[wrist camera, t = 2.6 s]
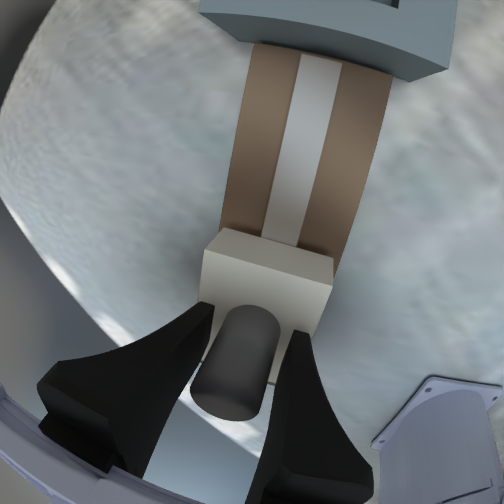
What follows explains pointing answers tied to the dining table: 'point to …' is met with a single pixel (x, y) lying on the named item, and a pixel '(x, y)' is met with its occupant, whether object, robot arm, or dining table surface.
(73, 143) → the dining table surface
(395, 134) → the dining table surface
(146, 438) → the robot arm
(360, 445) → the dining table surface
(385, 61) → the grey button housing
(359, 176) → the rail
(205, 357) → the carriage
